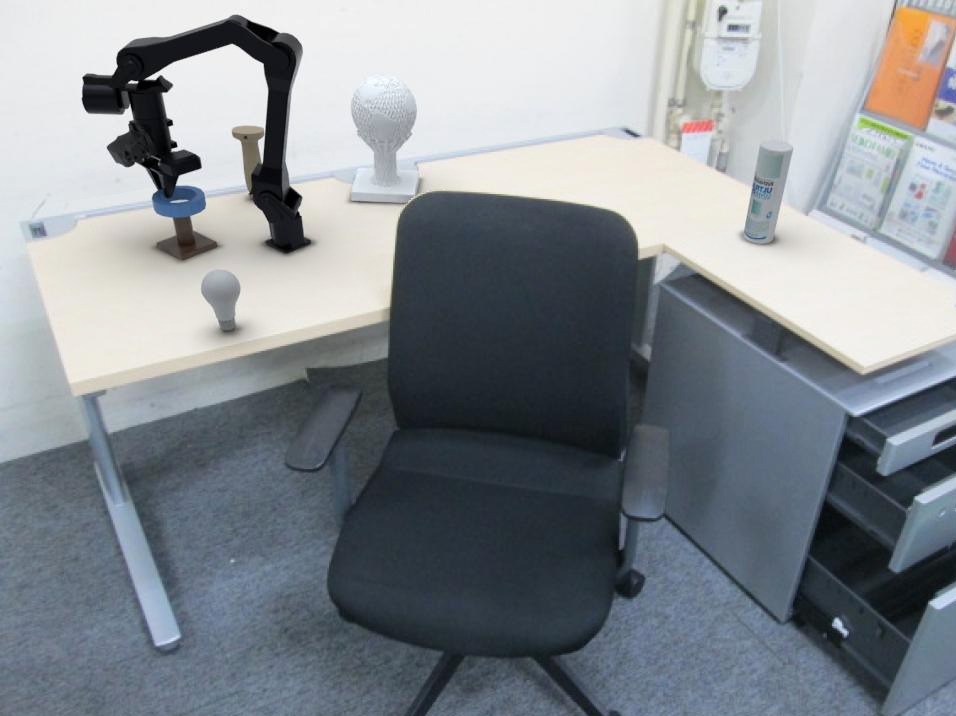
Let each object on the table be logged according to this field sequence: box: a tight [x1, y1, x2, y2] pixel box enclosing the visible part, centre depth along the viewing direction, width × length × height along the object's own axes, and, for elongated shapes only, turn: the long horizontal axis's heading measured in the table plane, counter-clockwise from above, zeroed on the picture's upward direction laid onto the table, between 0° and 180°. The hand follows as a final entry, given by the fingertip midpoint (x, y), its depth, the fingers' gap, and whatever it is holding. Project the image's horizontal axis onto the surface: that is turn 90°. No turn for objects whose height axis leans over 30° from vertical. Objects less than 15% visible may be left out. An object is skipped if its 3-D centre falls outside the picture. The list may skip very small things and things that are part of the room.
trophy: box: [350, 74, 420, 204], centre depth 197 cm, size 14×14×25 cm
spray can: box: [743, 139, 794, 245], centre depth 187 cm, size 6×6×20 cm
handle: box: [231, 125, 265, 200], centre depth 193 cm, size 5×6×15 cm
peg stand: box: [155, 216, 218, 261], centre depth 175 cm, size 8×8×7 cm
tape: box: [151, 184, 207, 219], centre depth 172 cm, size 9×9×2 cm
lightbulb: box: [200, 269, 242, 332], centre depth 150 cm, size 6×6×11 cm
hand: (166, 196), depth 174 cm, fingers closed on tape, 1 cm apart
